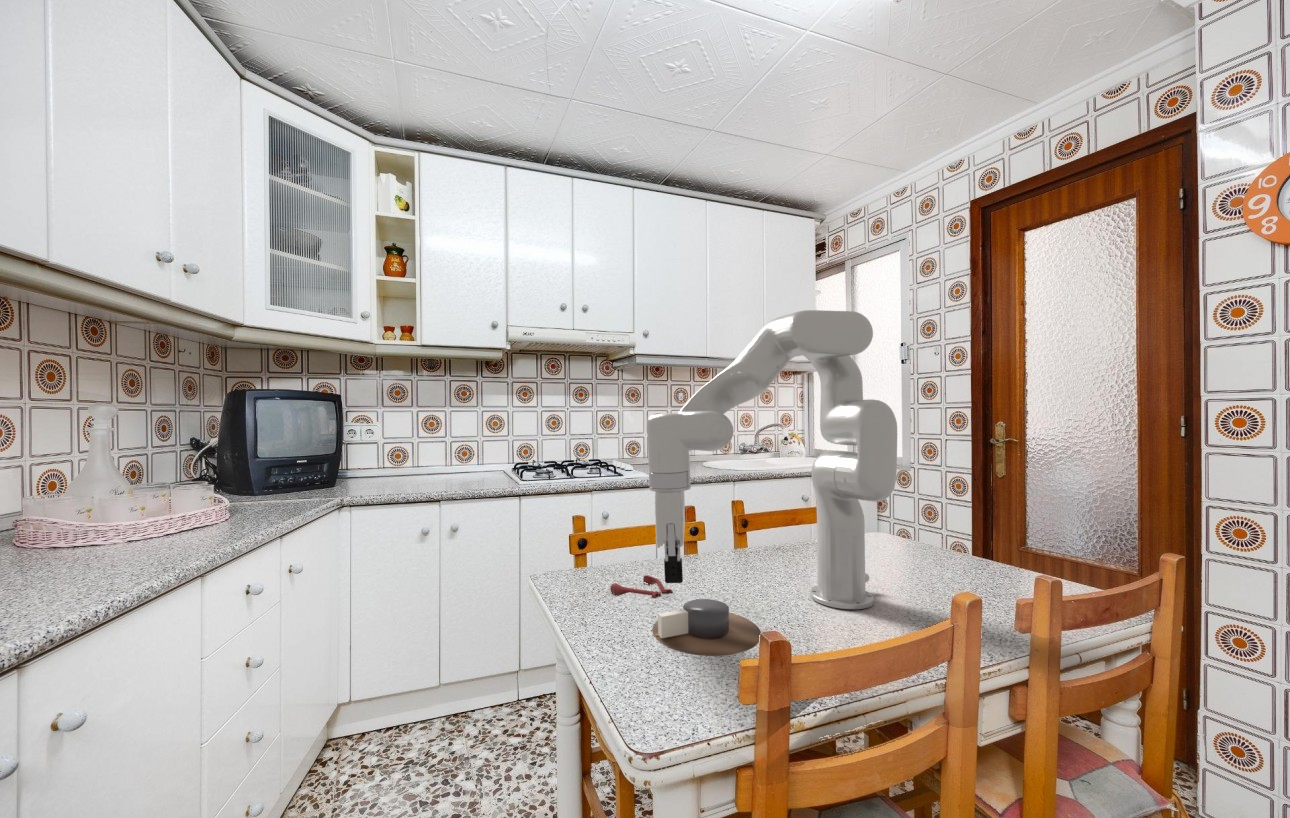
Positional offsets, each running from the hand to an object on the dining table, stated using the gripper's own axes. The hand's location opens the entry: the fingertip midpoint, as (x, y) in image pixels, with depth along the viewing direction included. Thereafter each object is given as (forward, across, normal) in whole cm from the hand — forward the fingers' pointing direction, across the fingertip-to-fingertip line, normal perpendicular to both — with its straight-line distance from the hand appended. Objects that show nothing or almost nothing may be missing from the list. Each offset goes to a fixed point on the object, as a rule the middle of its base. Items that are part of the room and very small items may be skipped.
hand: (673, 581), depth 91 cm
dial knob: (+7, +4, +3) cm, 9 cm away
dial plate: (+9, +2, +5) cm, 11 cm away
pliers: (+10, -16, -6) cm, 20 cm away
